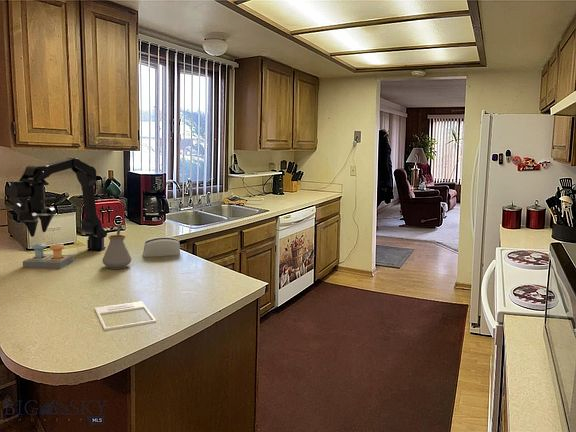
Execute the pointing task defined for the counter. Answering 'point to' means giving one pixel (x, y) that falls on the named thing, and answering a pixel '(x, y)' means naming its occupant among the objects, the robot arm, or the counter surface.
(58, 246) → the jaw orange
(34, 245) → the blue peg
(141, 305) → the photo frame
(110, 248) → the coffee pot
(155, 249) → the grey arched block
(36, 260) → the block
